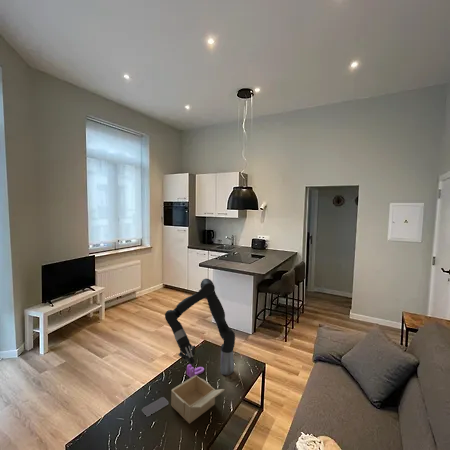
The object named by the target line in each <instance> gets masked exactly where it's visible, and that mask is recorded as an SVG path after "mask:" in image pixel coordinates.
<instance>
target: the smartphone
mask: <svg viewBox="0 0 450 450" xmlns="http://www.w3.org/2000/svg"><path fill="white" fill-rule="evenodd" d="M168 405H169V401H168V400H167V399H166V398H165V397H164V396H163V397H162V396H161V397H160V398H158V399H157V400H155V401H153V402H151V403H150V404H148V405H146V406H144V407H143V408H142V409H141V412H142V413H143V414H144V416H145V415H146V416H145V417H147V418H148V417H150V416H152V415H153V414H155V413H157V412H159V411H160V410H162V409H164V408H165V407H168ZM151 414H152V415H151Z"/></svg>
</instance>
